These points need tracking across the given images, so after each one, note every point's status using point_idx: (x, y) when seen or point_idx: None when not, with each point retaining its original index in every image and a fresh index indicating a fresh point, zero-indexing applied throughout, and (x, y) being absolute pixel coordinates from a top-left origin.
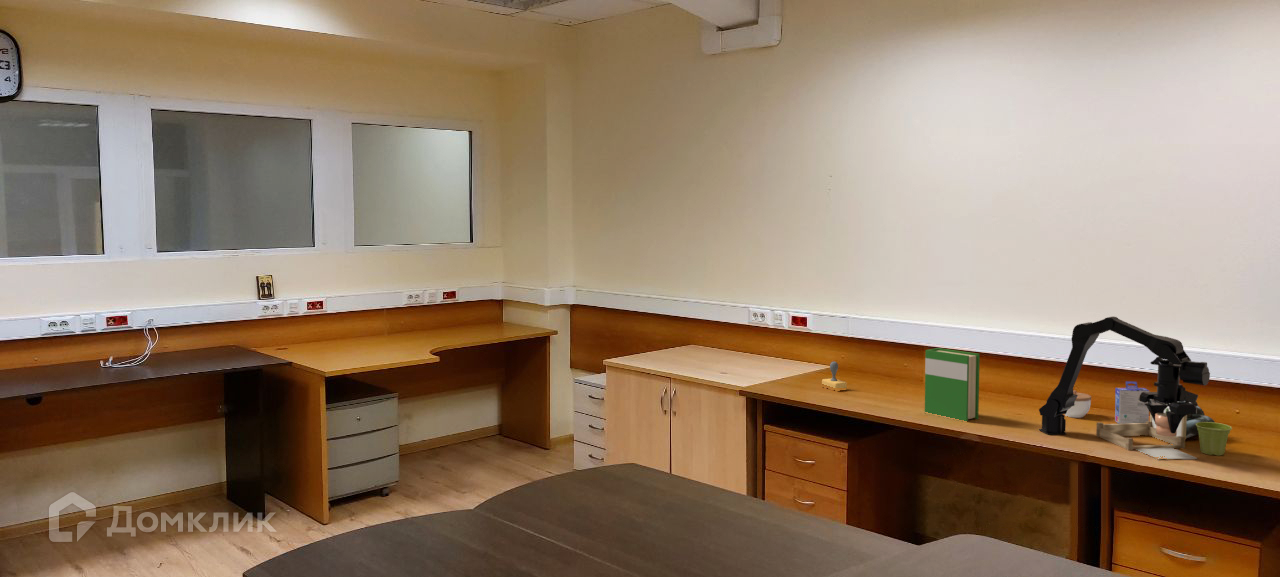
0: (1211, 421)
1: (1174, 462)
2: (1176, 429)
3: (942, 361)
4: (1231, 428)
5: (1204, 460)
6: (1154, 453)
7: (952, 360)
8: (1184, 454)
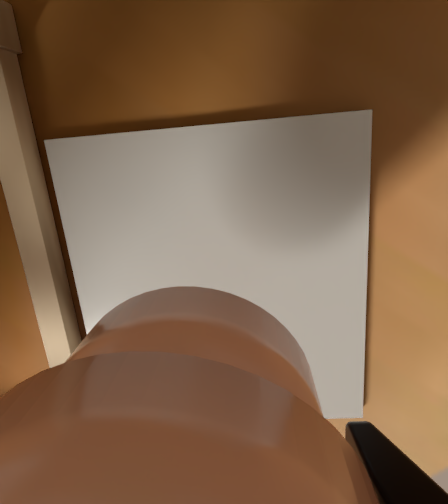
0: None
1: (427, 339)
2: (420, 474)
3: None
4: None
5: (419, 60)
6: None
7: None
8: (261, 160)
